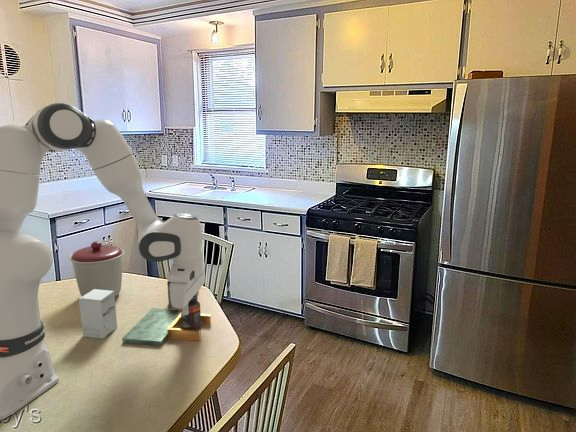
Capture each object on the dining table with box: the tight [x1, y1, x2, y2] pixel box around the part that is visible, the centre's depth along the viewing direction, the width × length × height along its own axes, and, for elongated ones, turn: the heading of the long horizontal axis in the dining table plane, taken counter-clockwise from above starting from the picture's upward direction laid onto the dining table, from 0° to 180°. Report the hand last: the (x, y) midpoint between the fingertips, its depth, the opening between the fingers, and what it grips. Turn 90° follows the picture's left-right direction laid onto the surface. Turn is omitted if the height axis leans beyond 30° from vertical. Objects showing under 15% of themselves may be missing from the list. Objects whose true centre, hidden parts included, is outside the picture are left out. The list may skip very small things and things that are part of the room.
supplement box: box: [78, 289, 118, 340], centre depth 129 cm, size 7×7×13 cm
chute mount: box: [121, 307, 212, 347], centre depth 132 cm, size 20×22×3 cm
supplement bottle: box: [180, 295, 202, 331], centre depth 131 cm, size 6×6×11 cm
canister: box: [68, 240, 125, 298], centre depth 153 cm, size 18×18×21 cm
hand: (190, 308), depth 130 cm, fingers open, 6 cm apart
